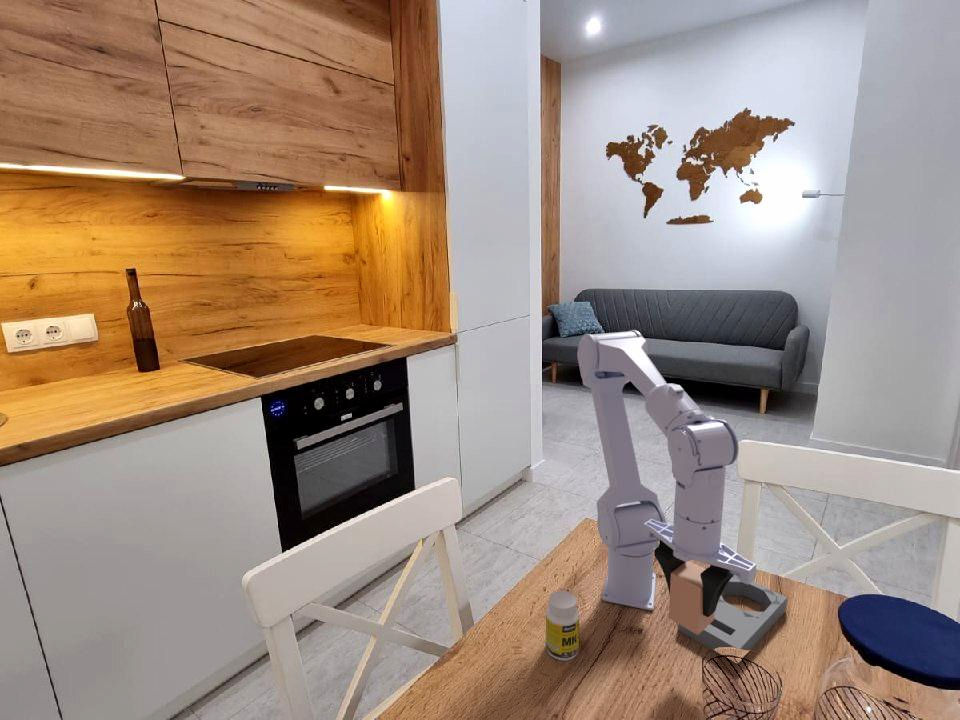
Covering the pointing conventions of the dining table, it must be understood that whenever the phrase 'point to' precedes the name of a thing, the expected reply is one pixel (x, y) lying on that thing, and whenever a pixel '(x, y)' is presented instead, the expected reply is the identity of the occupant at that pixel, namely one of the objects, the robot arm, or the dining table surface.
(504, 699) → the dining table surface
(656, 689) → the dining table surface
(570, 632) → the supplement bottle
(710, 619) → the peg
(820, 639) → the dining table surface
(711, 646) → the socket board
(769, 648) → the dining table surface
